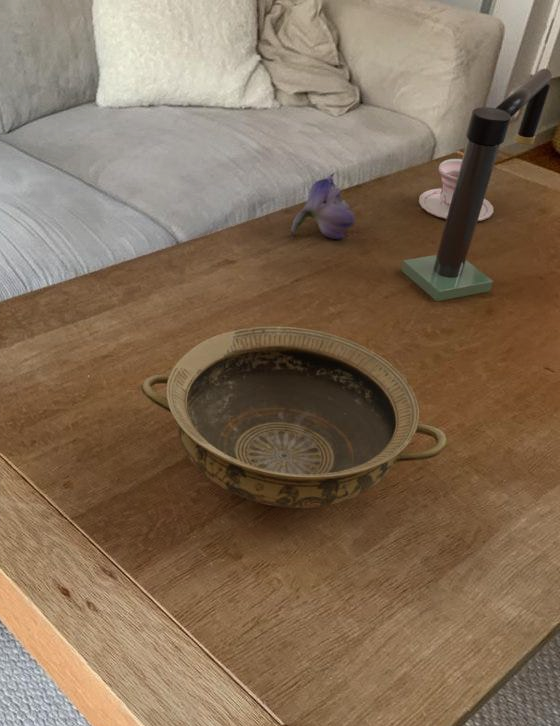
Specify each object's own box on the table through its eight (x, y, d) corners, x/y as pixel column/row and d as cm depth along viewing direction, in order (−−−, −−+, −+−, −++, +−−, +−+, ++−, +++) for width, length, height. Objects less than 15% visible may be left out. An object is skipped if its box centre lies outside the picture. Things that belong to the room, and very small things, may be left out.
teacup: (414, 188, 138) (423, 152, 134) (486, 195, 138) (497, 158, 134) (422, 220, 130) (431, 181, 125) (498, 226, 129) (510, 188, 125)
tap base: (452, 261, 120) (491, 124, 107) (490, 291, 114) (536, 149, 101) (400, 270, 117) (433, 130, 104) (436, 301, 111) (476, 157, 98)
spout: (479, 209, 105) (504, 123, 98) (445, 199, 107) (467, 114, 99) (541, 142, 124) (566, 66, 116) (511, 134, 125) (534, 59, 118)
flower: (295, 206, 116) (350, 165, 116) (272, 205, 123) (323, 167, 124) (325, 261, 120) (378, 222, 120) (300, 258, 127) (351, 220, 128)
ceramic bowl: (436, 432, 90) (460, 356, 84) (415, 591, 73) (443, 513, 67) (177, 375, 96) (180, 300, 89) (101, 512, 79) (97, 432, 72)
